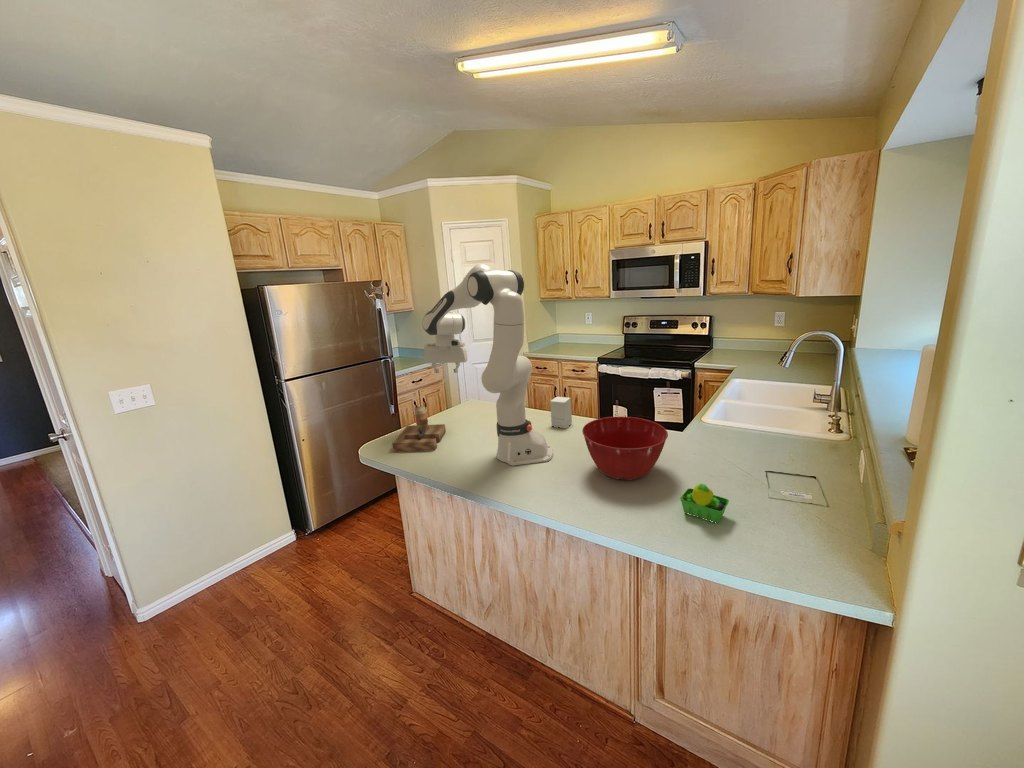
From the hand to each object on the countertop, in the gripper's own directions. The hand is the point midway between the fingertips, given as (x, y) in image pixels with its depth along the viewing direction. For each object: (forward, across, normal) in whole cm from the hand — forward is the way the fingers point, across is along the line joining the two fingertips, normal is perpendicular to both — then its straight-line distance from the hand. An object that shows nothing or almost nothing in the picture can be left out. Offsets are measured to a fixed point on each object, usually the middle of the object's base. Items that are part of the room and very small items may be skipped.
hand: (446, 372), depth 195 cm
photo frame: (+38, +129, -38) cm, 139 cm away
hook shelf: (+30, -9, -12) cm, 33 cm away
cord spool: (+25, -9, -8) cm, 28 cm away
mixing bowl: (+35, +78, -32) cm, 92 cm away
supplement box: (+26, +52, +10) cm, 59 cm away
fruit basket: (+41, +99, -57) cm, 121 cm away
